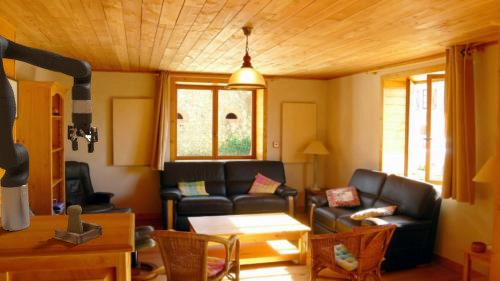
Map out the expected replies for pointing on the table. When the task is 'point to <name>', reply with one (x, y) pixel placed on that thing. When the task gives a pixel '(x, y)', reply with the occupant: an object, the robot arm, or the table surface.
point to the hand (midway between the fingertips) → (82, 151)
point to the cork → (74, 219)
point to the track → (89, 233)
